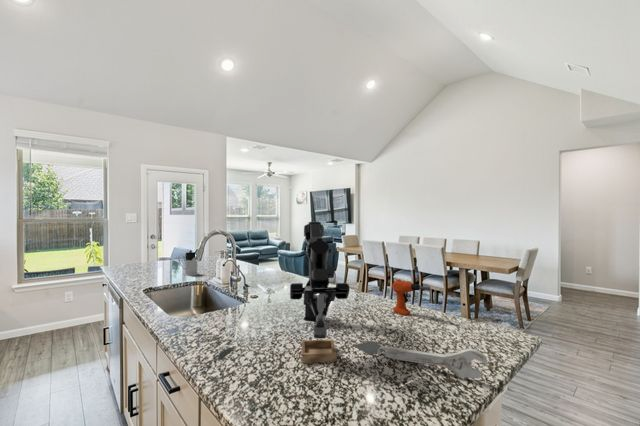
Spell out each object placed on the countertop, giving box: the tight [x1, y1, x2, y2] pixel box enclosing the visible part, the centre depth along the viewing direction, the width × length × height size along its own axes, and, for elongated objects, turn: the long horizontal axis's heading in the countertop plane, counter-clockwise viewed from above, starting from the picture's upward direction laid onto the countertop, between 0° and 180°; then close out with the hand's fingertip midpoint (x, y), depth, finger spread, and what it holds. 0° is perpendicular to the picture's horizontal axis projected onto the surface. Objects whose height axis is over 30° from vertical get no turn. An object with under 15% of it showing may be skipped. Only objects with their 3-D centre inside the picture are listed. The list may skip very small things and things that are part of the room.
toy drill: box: [391, 279, 431, 317], centre depth 133 cm, size 5×19×15 cm, turn 42°
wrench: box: [377, 345, 488, 381], centre depth 87 cm, size 8×2×30 cm
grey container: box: [178, 251, 199, 277], centre depth 217 cm, size 9×14×15 cm, turn 80°
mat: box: [353, 340, 386, 356], centre depth 100 cm, size 8×8×1 cm
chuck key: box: [313, 292, 328, 340], centre depth 95 cm, size 4×4×13 cm
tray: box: [301, 339, 338, 364], centre depth 95 cm, size 10×10×3 cm
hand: (320, 316), depth 94 cm, fingers closed on chuck key, 3 cm apart
